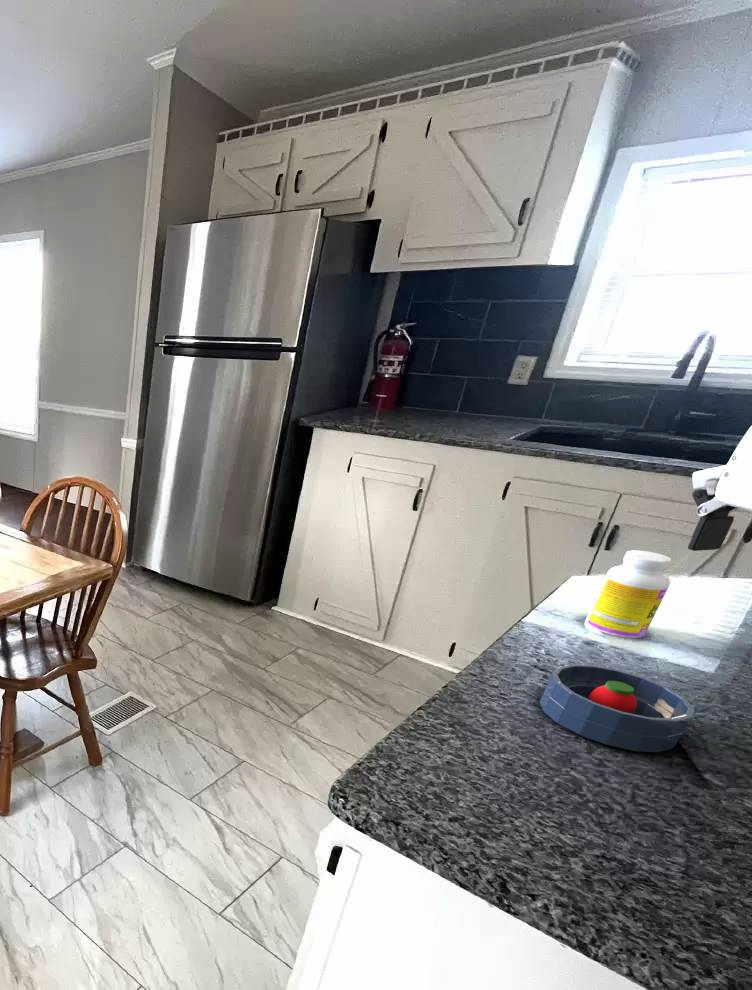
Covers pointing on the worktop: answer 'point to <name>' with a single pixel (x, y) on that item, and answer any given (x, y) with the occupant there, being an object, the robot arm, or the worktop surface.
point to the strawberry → (615, 696)
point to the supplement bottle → (630, 595)
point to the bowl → (640, 731)
